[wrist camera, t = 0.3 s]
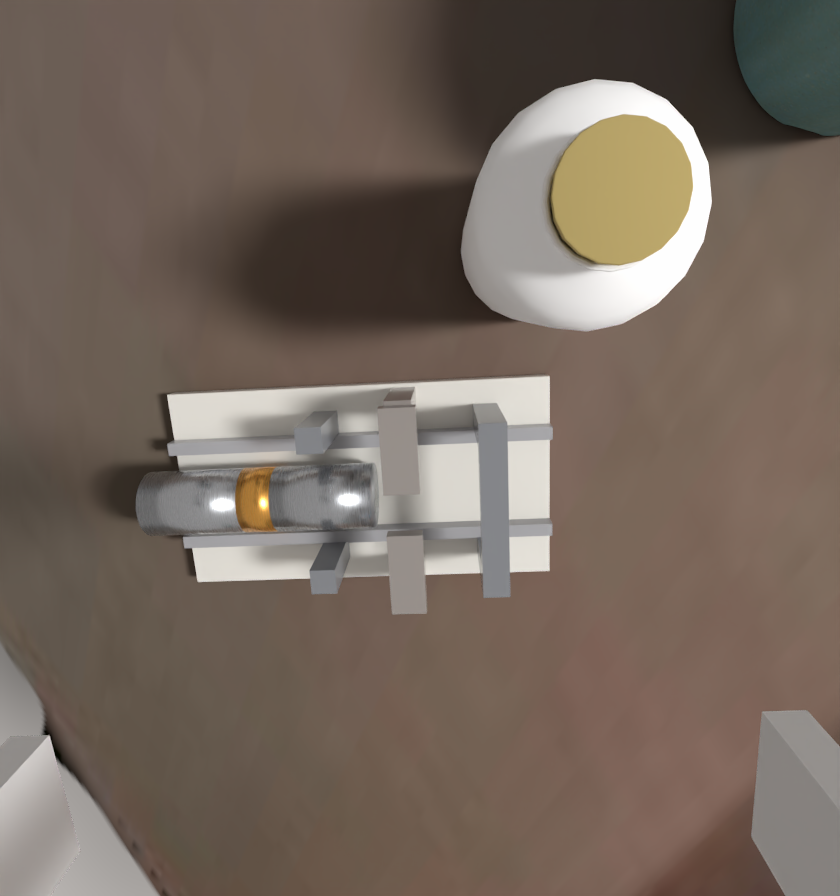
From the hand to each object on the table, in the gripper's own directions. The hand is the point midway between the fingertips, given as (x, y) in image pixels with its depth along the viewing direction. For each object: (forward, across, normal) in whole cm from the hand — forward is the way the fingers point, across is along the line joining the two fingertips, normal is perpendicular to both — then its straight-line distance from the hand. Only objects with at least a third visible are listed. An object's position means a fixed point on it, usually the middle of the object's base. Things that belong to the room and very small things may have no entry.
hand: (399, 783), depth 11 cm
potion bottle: (+28, +7, +11) cm, 31 cm away
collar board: (+27, -4, -2) cm, 28 cm away
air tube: (+26, -10, -2) cm, 28 cm away
